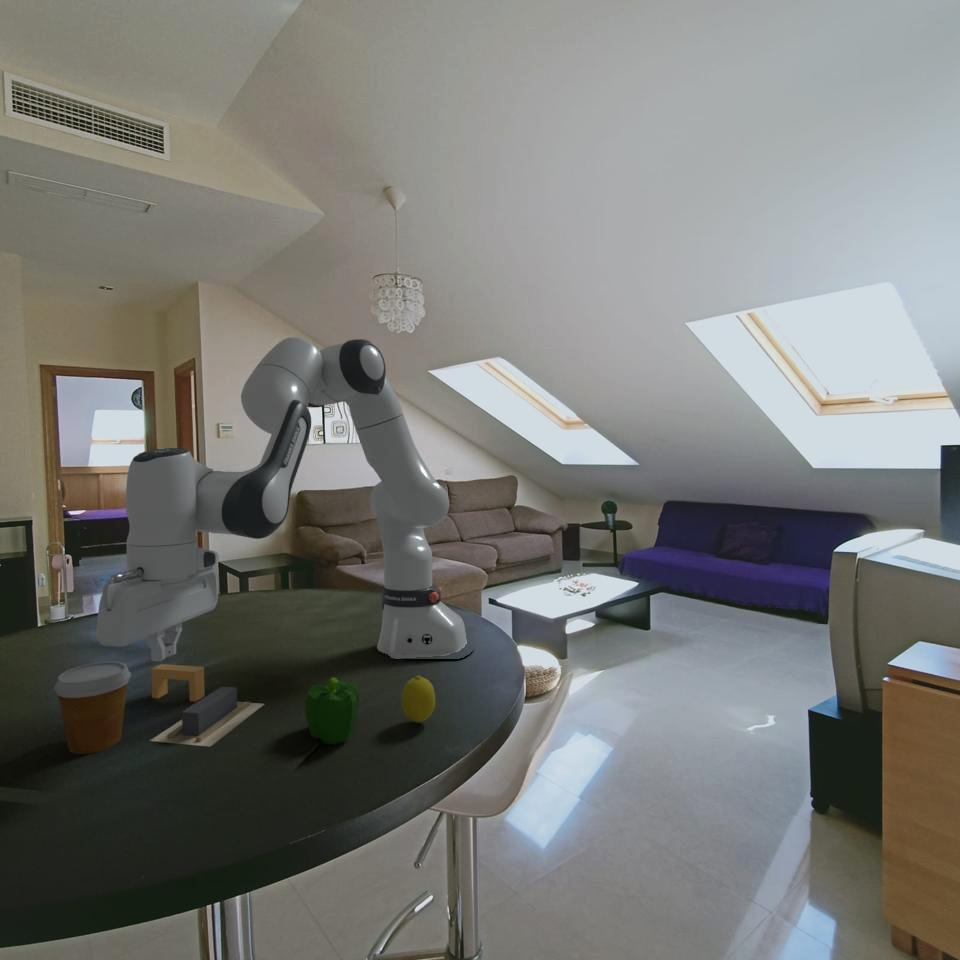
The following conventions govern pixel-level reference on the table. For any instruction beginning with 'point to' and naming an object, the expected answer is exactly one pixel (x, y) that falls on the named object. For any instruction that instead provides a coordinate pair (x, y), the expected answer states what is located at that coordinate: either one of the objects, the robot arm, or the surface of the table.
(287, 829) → the table surface
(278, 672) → the table surface
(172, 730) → the board
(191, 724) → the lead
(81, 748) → the disposable coffee cup
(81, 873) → the table surface
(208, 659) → the table surface
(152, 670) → the wooden arch block
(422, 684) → the lemon
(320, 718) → the bell pepper
